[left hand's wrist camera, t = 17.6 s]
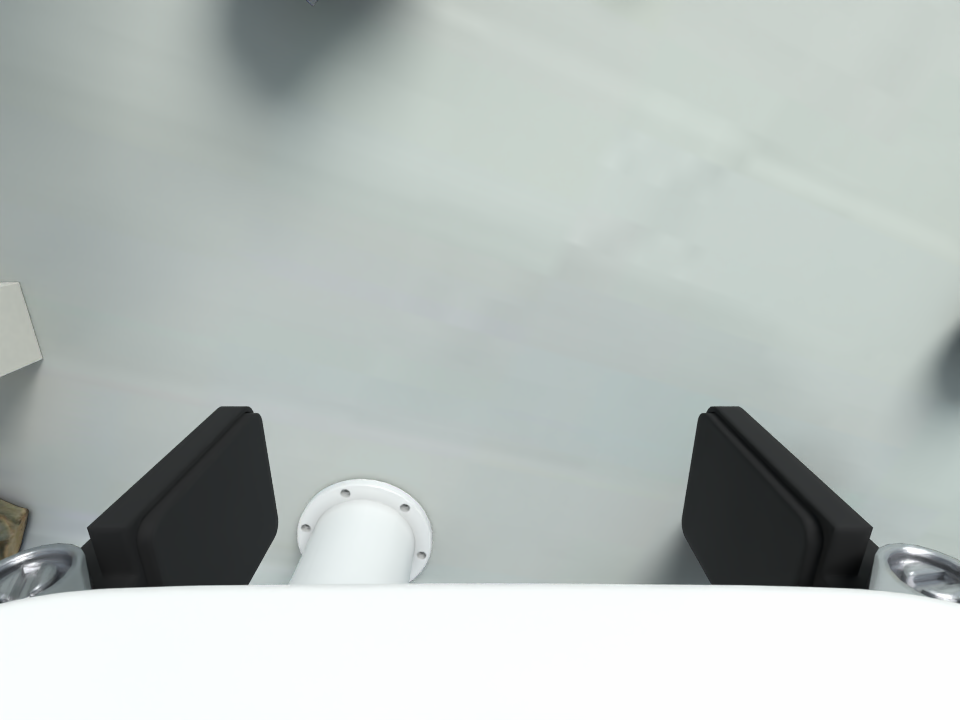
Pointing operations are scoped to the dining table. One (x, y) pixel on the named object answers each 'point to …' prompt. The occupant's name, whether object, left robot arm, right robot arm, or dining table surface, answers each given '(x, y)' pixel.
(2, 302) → the brick
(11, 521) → the statue
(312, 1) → the toy
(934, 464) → the dining table surface
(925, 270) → the dining table surface
